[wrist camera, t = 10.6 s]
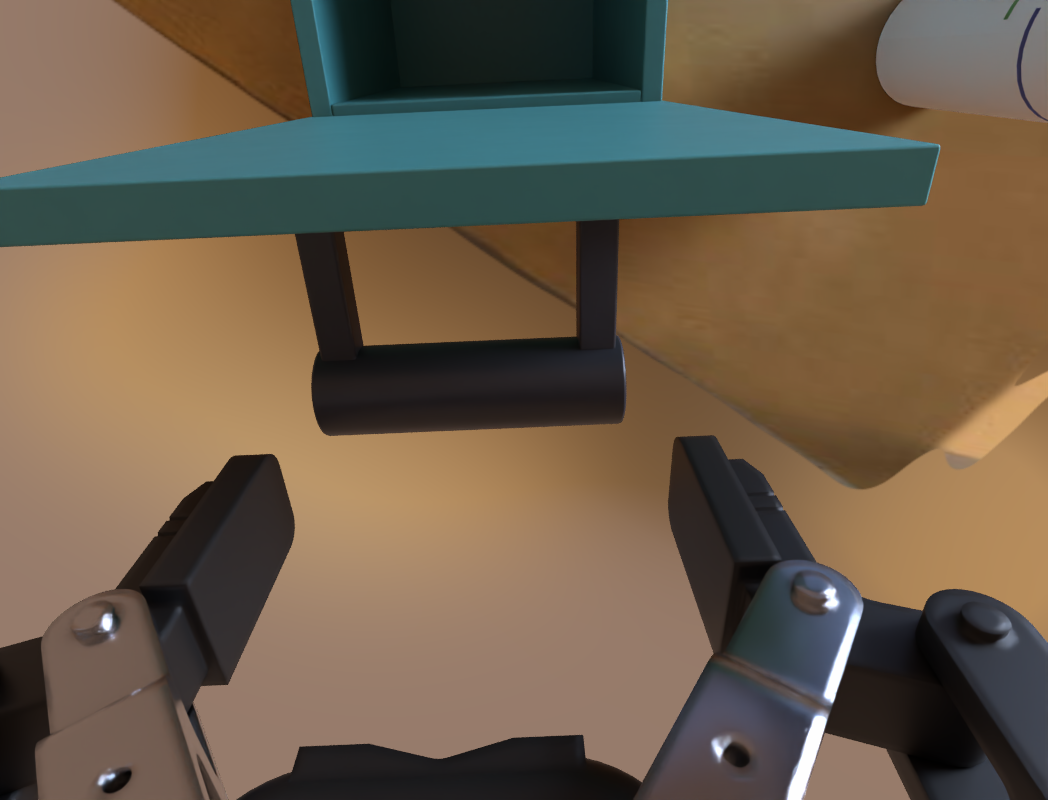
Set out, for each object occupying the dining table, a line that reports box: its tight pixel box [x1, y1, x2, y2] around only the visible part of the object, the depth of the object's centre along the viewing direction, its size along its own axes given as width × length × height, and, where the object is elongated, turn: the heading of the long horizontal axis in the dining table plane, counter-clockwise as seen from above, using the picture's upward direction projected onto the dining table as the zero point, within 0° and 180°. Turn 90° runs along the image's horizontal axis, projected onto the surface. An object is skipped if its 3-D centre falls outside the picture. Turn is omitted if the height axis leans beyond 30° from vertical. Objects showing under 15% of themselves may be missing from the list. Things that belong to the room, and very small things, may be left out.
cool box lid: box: [0, 101, 940, 436], centre depth 17 cm, size 17×14×5 cm
